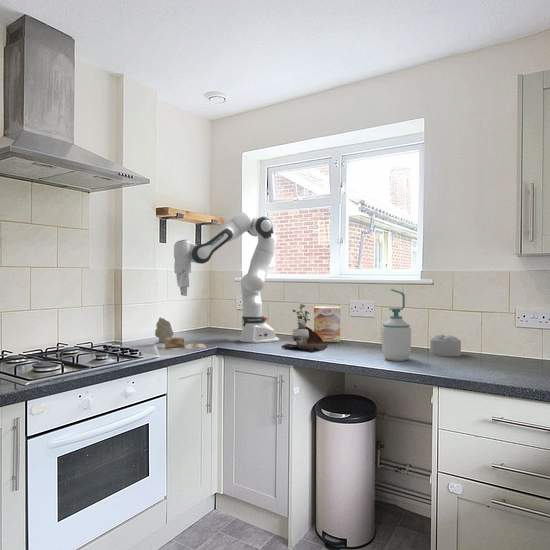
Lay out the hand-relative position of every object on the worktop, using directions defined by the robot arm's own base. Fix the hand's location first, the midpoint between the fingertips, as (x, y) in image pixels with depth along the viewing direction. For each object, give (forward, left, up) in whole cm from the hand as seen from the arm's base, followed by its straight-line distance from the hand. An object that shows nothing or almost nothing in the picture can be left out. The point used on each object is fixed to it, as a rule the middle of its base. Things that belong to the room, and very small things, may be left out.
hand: (183, 295), depth 228 cm
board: (+2, +10, -27) cm, 29 cm away
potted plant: (-59, +29, -28) cm, 72 cm away
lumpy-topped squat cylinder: (-112, +70, -27) cm, 135 cm away
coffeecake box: (-79, +13, -27) cm, 85 cm away
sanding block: (+6, +10, -26) cm, 28 cm away
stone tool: (+10, -9, -27) cm, 30 cm away
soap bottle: (-84, +72, -27) cm, 114 cm away
